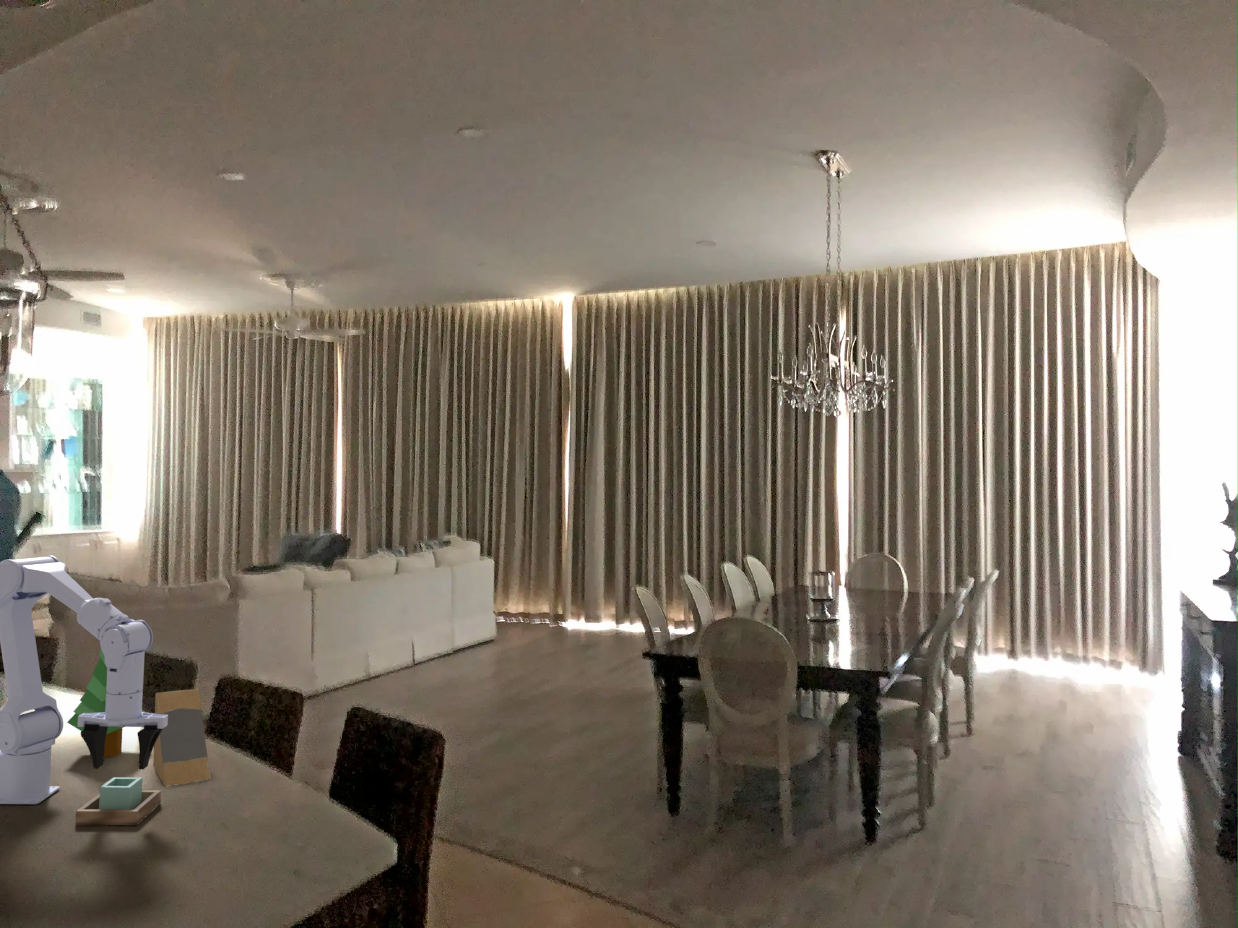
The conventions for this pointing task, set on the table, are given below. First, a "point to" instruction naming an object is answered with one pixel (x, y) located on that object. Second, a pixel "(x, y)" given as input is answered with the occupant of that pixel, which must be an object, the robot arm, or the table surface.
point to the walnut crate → (117, 811)
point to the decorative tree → (99, 707)
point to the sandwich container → (181, 738)
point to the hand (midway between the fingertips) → (121, 767)
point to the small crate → (121, 794)
